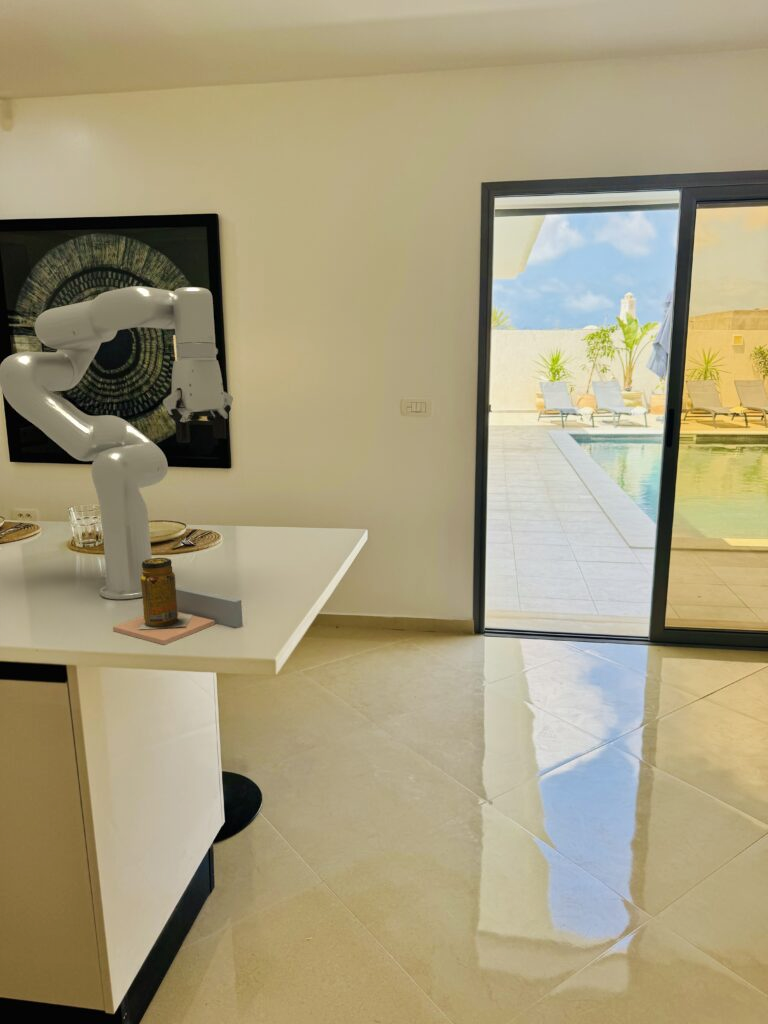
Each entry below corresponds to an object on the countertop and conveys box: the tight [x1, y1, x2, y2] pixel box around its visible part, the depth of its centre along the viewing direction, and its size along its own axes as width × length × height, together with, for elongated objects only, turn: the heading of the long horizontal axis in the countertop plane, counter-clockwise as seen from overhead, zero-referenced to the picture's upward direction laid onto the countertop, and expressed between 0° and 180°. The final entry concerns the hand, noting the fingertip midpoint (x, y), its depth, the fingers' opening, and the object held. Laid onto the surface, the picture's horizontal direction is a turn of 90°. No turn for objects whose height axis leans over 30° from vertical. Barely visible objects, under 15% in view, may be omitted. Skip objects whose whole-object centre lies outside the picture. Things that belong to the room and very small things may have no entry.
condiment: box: [139, 557, 193, 629], centre depth 134 cm, size 7×8×12 cm
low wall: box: [175, 585, 244, 629], centre depth 140 cm, size 22×2×5 cm, turn 57°
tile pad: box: [112, 612, 216, 646], centre depth 134 cm, size 14×12×1 cm
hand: (202, 440), depth 145 cm, fingers open, 9 cm apart
